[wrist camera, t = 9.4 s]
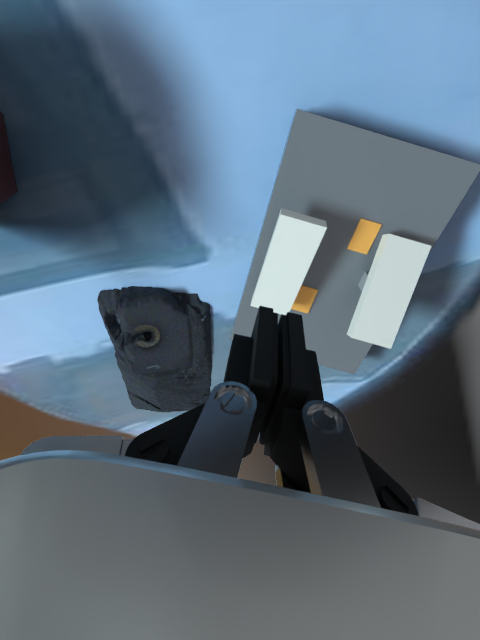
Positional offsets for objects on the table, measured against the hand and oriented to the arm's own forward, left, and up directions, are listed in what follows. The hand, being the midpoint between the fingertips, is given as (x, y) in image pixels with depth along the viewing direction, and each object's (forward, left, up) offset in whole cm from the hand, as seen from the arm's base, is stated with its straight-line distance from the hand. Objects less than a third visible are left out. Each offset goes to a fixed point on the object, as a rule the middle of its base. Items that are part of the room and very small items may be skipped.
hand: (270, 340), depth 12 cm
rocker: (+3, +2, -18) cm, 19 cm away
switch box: (+3, +7, -24) cm, 25 cm away
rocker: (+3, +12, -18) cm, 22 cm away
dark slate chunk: (+24, -10, -25) cm, 36 cm away
